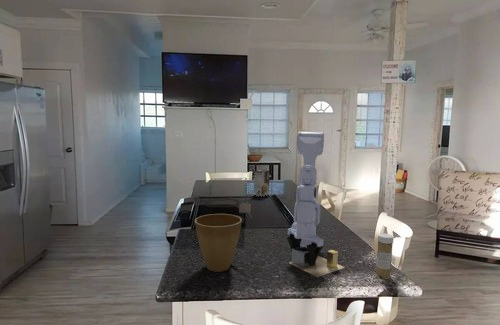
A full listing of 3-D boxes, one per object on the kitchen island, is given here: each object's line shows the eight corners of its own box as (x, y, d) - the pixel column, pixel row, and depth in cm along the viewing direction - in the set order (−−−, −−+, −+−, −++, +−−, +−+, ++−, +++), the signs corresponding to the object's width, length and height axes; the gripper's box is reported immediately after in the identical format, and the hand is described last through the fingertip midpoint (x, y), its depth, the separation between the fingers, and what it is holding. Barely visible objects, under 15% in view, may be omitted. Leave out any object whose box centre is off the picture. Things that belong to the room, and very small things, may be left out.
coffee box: (261, 193, 232) (261, 169, 230) (269, 194, 228) (270, 170, 226) (253, 195, 224) (253, 170, 223) (261, 197, 221) (262, 171, 219)
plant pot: (237, 257, 122) (238, 212, 120) (243, 276, 108) (244, 225, 106) (194, 258, 120) (195, 213, 118) (194, 278, 105) (194, 226, 104)
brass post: (326, 268, 115) (327, 251, 114) (331, 267, 116) (332, 249, 115) (332, 271, 113) (333, 253, 112) (337, 269, 114) (338, 252, 114)
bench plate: (288, 265, 117) (288, 262, 117) (315, 257, 124) (315, 254, 124) (317, 280, 106) (317, 277, 106) (345, 270, 114) (345, 267, 114)
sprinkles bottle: (378, 272, 113) (381, 231, 112) (392, 276, 110) (396, 235, 109) (372, 276, 110) (375, 235, 108) (387, 281, 107) (390, 238, 105)
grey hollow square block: (291, 262, 116) (292, 248, 116) (303, 259, 120) (304, 245, 119) (303, 268, 112) (304, 253, 111) (315, 264, 115) (316, 250, 115)
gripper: (281, 217, 118) (280, 256, 119) (313, 228, 106) (311, 271, 107) (296, 214, 122) (295, 252, 123) (328, 225, 110) (326, 266, 112)
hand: (303, 261), depth 116 cm, fingers open, 7 cm apart
